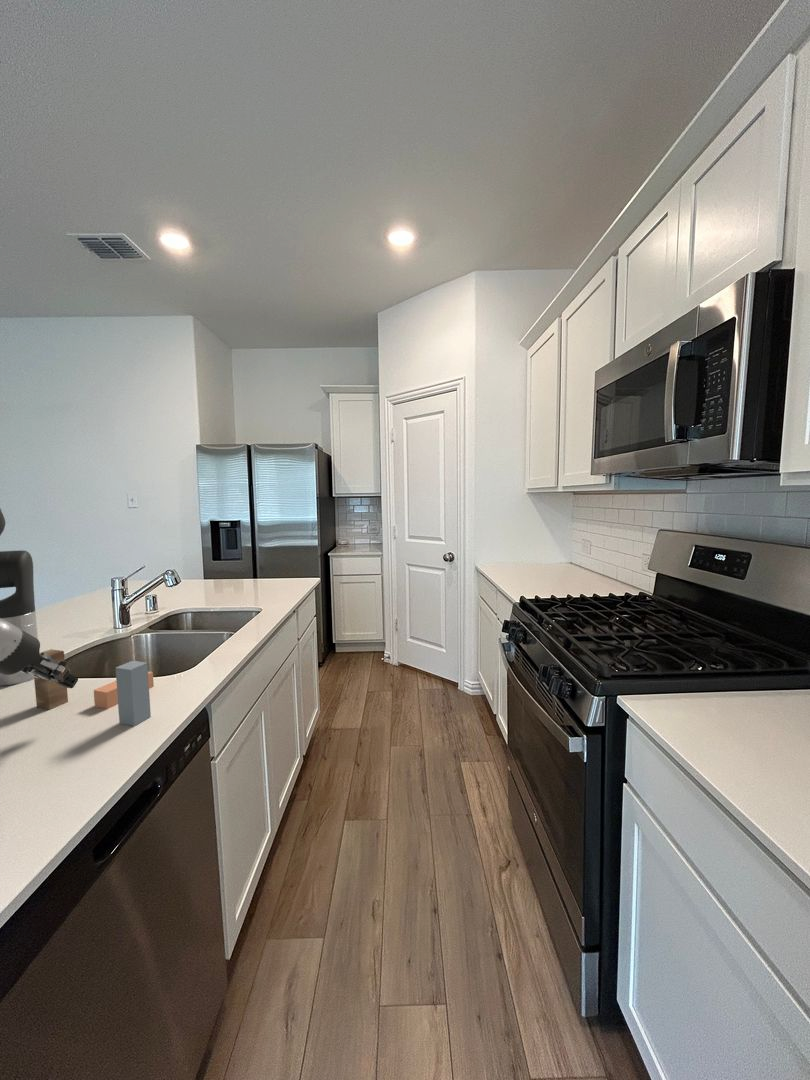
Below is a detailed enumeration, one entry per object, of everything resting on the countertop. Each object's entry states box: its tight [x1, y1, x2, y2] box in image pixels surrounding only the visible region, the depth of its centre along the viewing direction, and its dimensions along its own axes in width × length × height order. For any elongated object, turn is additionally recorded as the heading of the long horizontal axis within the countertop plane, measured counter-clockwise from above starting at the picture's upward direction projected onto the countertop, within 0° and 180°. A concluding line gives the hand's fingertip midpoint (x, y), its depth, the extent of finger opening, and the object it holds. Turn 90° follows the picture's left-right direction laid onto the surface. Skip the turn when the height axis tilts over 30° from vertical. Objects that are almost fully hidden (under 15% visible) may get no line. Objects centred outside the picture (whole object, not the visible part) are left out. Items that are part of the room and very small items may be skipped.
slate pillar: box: [115, 660, 152, 727], centre depth 93 cm, size 4×4×12 cm
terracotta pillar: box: [93, 670, 155, 710], centre depth 105 cm, size 4×4×12 cm
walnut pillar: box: [33, 648, 69, 711], centre depth 100 cm, size 4×4×12 cm
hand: (72, 683), depth 92 cm, fingers closed
